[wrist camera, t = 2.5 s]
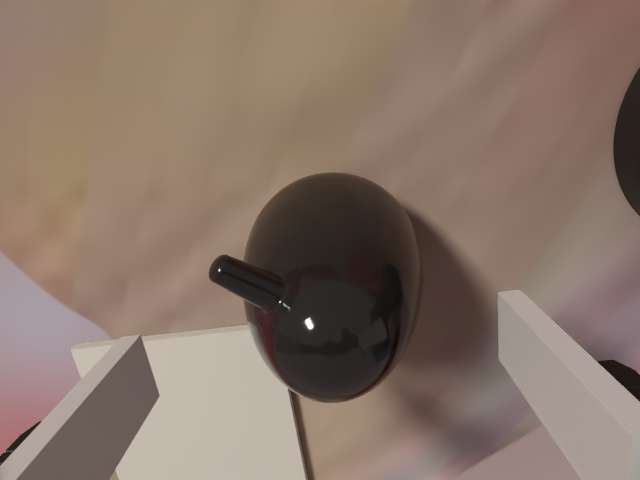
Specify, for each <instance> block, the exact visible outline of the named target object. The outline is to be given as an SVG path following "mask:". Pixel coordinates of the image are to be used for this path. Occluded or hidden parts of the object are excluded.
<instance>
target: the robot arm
mask: <svg viewBox="0 0 640 480" xmlns="http://www.w3.org/2000/svg"><path fill="white" fill-rule="evenodd" d="M614 162H615V169H616V173H617V177H618V180H619V183H620V186H621V188H622V190H623V192H624V194H625V196H626V198H627V199H628V201H629V202H630V204H631V205H632V206H633V208H634V209H635V210H636V211H637V212H638V213H639V214H640V68H639V70H638V71H637V73H636V75H635V76H634V78H633V80H632V82H631V84H630V86H629V88H628V90H627V92H626V94H625V97H624V99H623V102H622V104H621V107H620V111H619V114H618V118H617V122H616V127H615V134H614ZM498 347H499V361H500V362H501V363H502V365H503V366H504V368H505V369H506V371H507V372H508V374H509V375H510V377H511V378H512V380H513V381H514V383H515V384H516V386H517V387H518V388H519V390H520V391H521V393H522V394H523V396H524V397H525V399H526V400H527V402H528V403H529V405H530V406H531V408H532V409H533V411H534V412H535V413H536V415H537V416H538V418H539V419H540V421H541V422H542V424H543V425H544V427H545V428H546V429H547V431H548V432H549V434H550V435H551V437H552V438H553V440H554V441H555V443H556V444H557V445H558V447H559V449H560V450H561V452H562V453H563V455H564V456H565V458H566V459H567V460H568V462H569V463H570V465H571V466H572V468H573V469H574V471H575V472H576V474H577V475H578V477H579V478H580V480H640V375H639V374H638V373H637V372H636V371H635V370H633V369H631V368H629V367H627V366H625V365H623V364H621V363H619V362H617V361H615V360H606V361H596V360H595V359H593V358H592V357H591V356H590V355H589V354H588V353H587V352H586V351H585V350H584V349H583V348H582V347H581V346H580V345H579V344H577V343H576V342H575V341H574V340H573V339H572V338H571V337H570V336H569V335H568V334H567V333H566V332H565V331H564V330H562V329H561V328H560V327H559V326H558V325H557V324H556V323H555V322H554V321H553V320H552V319H551V318H550V317H549V316H548V315H546V314H545V313H544V312H543V311H542V310H541V309H540V308H539V307H538V306H537V305H536V304H535V303H534V302H533V301H531V300H530V299H529V298H528V297H527V296H526V295H525V294H524V293H523V292H522V291H521V290H513V291H504V292H498ZM159 396H160V395H159V391H158V388H157V385H156V382H155V379H154V376H153V372H152V369H151V366H150V363H149V360H148V357H147V353H146V350H145V347H144V344H143V341H142V338H141V335H134V336H126V337H121V338H120V339H119V340H118V341H117V342H116V343H115V344H114V345H113V346H112V347H111V348H110V349H109V350H108V352H107V353H106V354H105V355H104V356H103V357H102V358H101V359H100V360H99V361H98V362H97V363H96V364H95V365H94V366H93V368H92V369H91V370H90V371H89V372H88V373H87V374H86V375H85V376H84V377H83V378H82V379H81V381H79V382H78V384H77V385H76V386H75V387H74V388H73V389H72V390H71V391H70V392H69V393H68V394H67V395H66V396H65V397H64V399H62V401H61V402H60V403H59V404H58V405H57V406H56V407H55V408H54V409H53V410H52V411H51V412H50V414H48V415H47V417H46V418H45V419H44V420H43V421H40V422H38V423H37V424H35V425H34V426H33V427H31V428H30V429H29V430H27V431H26V432H24V433H23V434H22V435H20V436H19V437H18V439H16V441H15V442H14V443H13V444H12V445H11V446H10V447H9V448H8V449H7V450H6V453H3V454H2V455H1V456H0V480H109V479H110V477H111V476H112V474H113V472H114V471H115V469H116V467H117V466H118V464H119V462H120V461H121V459H122V458H123V456H124V454H125V453H126V451H127V449H128V448H129V446H130V444H131V443H132V441H133V439H134V438H135V436H136V434H137V433H138V431H139V429H140V428H141V426H142V425H143V423H144V421H145V420H146V418H147V416H148V415H149V413H150V411H151V410H152V408H153V406H154V405H155V403H156V401H157V400H158V398H159Z"/></svg>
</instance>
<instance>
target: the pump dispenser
mask: <svg viewBox="0 0 640 480" xmlns="http://www.w3.org/2000/svg"><path fill="white" fill-rule="evenodd" d="M209 278H210V280H211V281H212V282H213V283H215V284H217V285H218V286H220V287H222V288H224V289H226V290H228V291H229V292H231V293H233V294H235V295H237V296H239V297H240V298H242V299H243V300H244V307H245V312H246V317H247V321H248V325H249V329H250V332H251V335H252V338H253V341H254V343H255V346H256V348H257V350H258V352H259V354H260V356H261V358H262V359H263V361H264V363H265V364H266V366H267V367H268V368H269V370H270V371H271V372H272V373H273V374H274V376H275V377H276V378H277V379H278V380H279V381H280V382H281V383H282V384H284V385H285V386H286V387H287V388H289V389H290V390H291V391H293V392H295V393H296V394H298V395H300V396H302V397H304V398H307V399H310V400H313V401H317V402H324V403H339V402H345V401H349V400H353V399H356V398H358V397H360V396H363V395H365V394H366V393H368V392H370V391H371V390H373V389H374V388H375V387H377V386H378V385H379V384H380V383H381V382H382V381H383V380H385V378H386V377H387V376H388V375H389V374H390V373H391V372H392V371H393V369H394V368H395V367H396V365H397V364H398V362H399V361H400V359H401V358H402V356H403V354H404V352H405V351H406V349H407V347H408V345H409V342H410V340H411V338H412V335H413V333H414V330H415V327H416V324H417V320H418V316H419V312H420V307H421V301H422V293H423V266H422V258H421V252H420V246H419V242H418V238H417V235H416V232H415V229H414V227H413V224H412V222H411V220H410V218H409V216H408V215H407V213H406V212H405V210H404V209H403V207H402V206H401V205H400V203H399V202H398V201H397V200H396V199H395V198H394V197H393V196H392V195H391V194H390V193H389V192H387V191H386V190H385V189H384V188H382V187H381V186H379V185H377V184H376V183H374V182H372V181H370V180H368V179H365V178H362V177H359V176H356V175H352V174H346V173H320V174H315V175H311V176H307V177H304V178H301V179H299V180H297V181H295V182H293V183H291V184H289V185H287V186H286V187H284V188H283V189H282V190H280V191H279V192H278V193H277V194H276V195H274V196H273V197H272V198H271V199H270V201H269V202H268V203H267V204H266V205H265V206H264V208H263V209H262V211H261V212H260V214H259V215H258V217H257V219H256V221H255V222H254V225H253V227H252V229H251V232H250V235H249V238H248V242H247V245H246V250H245V254H244V260H243V261H241V260H238V259H236V258H233V257H231V256H228V255H221V256H219V257H217V258H216V259H215V260H214V261H213V263H212V265H211V267H210V269H209Z"/></svg>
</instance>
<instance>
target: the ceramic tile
mask: <svg viewBox="0 0 640 480" xmlns="http://www.w3.org/2000/svg"><path fill="white" fill-rule="evenodd" d="M141 338H142V341H143V344H144V347H145V350H146V353H147V357H148V360H149V363H150V366H151V369H152V372H153V376H154V379H155V382H156V385H157V388H158V391H159V395H160V396H159V398H158V400H157V401H156V403H155V405H154V406H153V408H152V410H151V411H150V413H149V415H148V416H147V418H146V420H145V421H144V423H143V425H142V426H141V428H140V429H139V431H138V433H137V434H136V436H135V438H134V439H133V441H132V443H131V444H130V446H129V448H128V449H127V451H126V453H125V454H124V456H123V458H122V459H121V461H120V462H119V464H118V466H117V467H116V469H115V470H116V473H117V475H118V478H119V480H308V476H307V471H306V466H305V461H304V456H303V451H302V446H301V441H300V436H299V431H298V426H297V421H296V416H295V410H294V405H293V400H292V395H291V390H290V389H289V388H287V387H286V386H285V385H284V384H282V383H281V382H280V381H279V380H278V379H277V378H276V377H275V376H274V374H273V373H272V372H271V371H270V370H269V368H268V367H267V366H266V364H265V363H264V361H263V359H262V358H261V356H260V354H259V352H258V350H257V348H256V346H255V343H254V341H253V338H252V335H251V332H250V329H249V325H240V326H231V327H222V328H214V329H205V330H196V331H187V332H178V333H169V334H160V335H152V336H143V337H141ZM118 340H119V339H116V340H108V341H99V342H90V343H81V344H76V345H75V346H74V347H73V348H72V349H71V353H72V355H73V358H74V361H75V363H76V366H77V368H78V371H79V374H80V376H81V379H82V378H83V377H84V376H85V375H86V374H87V373H88V372H89V371H90V370H91V369H92V368H93V366H94V365H95V364H96V363H97V362H98V361H99V360H100V359H101V358H102V357H103V356H104V355H105V354H106V353H107V352H108V350H109V349H110V348H111V347H112V346H113V345H114V344H115V343H116V342H117V341H118Z"/></svg>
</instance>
